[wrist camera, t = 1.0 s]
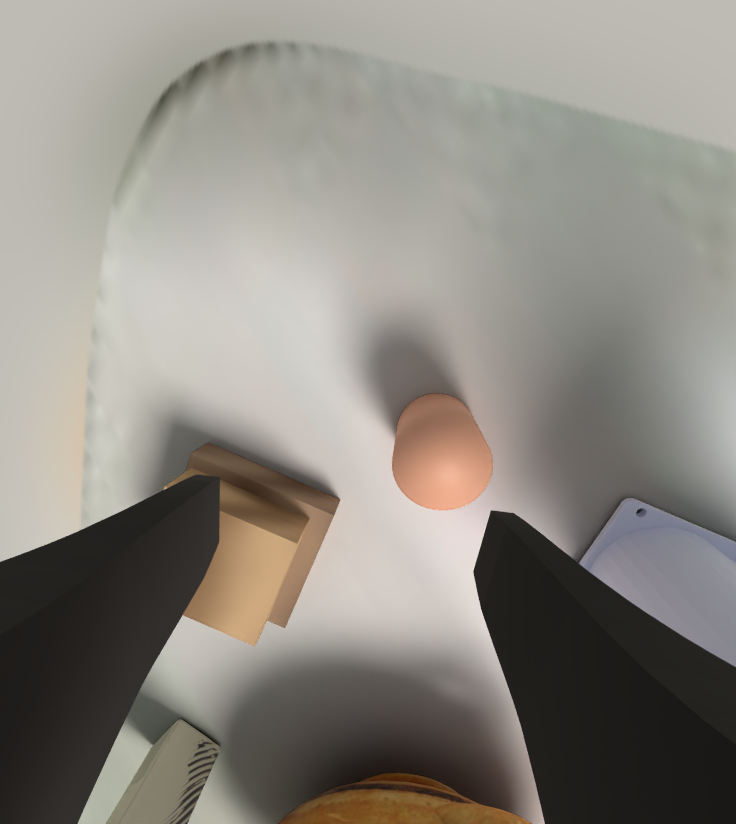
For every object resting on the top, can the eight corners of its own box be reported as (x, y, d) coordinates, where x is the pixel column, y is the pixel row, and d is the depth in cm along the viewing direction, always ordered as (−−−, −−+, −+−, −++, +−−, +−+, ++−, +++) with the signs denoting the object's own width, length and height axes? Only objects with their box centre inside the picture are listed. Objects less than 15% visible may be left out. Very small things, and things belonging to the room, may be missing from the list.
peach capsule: (488, 412, 21) (511, 443, 16) (454, 478, 22) (464, 524, 17) (416, 381, 21) (416, 402, 16) (385, 448, 22) (377, 487, 17)
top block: (310, 518, 22) (297, 543, 19) (270, 612, 24) (254, 646, 22) (191, 467, 22) (164, 486, 20) (163, 566, 24) (135, 594, 22)
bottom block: (342, 495, 24) (334, 515, 22) (296, 599, 27) (284, 628, 24) (213, 439, 24) (190, 453, 22) (180, 548, 27) (157, 572, 24)
